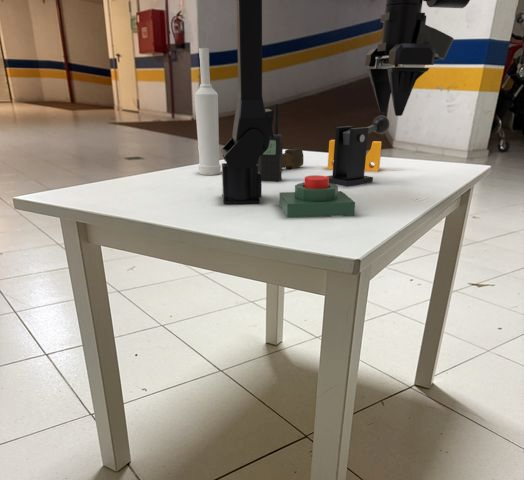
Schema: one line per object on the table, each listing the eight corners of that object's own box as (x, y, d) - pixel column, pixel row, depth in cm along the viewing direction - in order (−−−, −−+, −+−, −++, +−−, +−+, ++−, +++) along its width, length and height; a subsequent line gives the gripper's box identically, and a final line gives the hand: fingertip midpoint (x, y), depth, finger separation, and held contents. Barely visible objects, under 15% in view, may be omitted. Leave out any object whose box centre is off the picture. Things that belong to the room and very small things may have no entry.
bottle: (222, 171, 118) (218, 48, 106) (218, 175, 113) (213, 47, 101) (201, 171, 118) (194, 49, 106) (196, 175, 114) (188, 47, 102)
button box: (287, 217, 79) (287, 192, 77) (279, 205, 87) (279, 181, 85) (354, 216, 80) (356, 190, 78) (340, 203, 88) (342, 180, 86)
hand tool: (257, 177, 111) (257, 155, 109) (245, 174, 114) (244, 153, 112) (311, 168, 123) (312, 148, 121) (299, 166, 126) (299, 146, 123)
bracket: (348, 178, 110) (352, 125, 105) (372, 183, 105) (378, 127, 100) (322, 182, 106) (325, 127, 101) (346, 187, 101) (351, 129, 96)
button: (306, 191, 80) (307, 179, 79) (302, 186, 83) (302, 175, 82) (331, 190, 80) (331, 179, 79) (325, 185, 84) (326, 175, 83)
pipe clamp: (379, 169, 121) (382, 140, 118) (377, 171, 118) (380, 142, 114) (330, 166, 124) (332, 139, 121) (327, 169, 121) (329, 140, 117)
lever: (379, 130, 108) (379, 113, 106) (393, 132, 106) (392, 113, 103) (340, 147, 103) (339, 129, 101) (353, 149, 100) (352, 130, 98)
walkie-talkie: (258, 181, 106) (258, 103, 99) (262, 178, 109) (262, 103, 102) (280, 182, 105) (281, 104, 98) (283, 179, 108) (285, 103, 101)
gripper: (478, -1, 72) (456, 118, 79) (430, 14, 88) (416, 111, 96) (403, -3, 71) (388, 117, 78) (369, 12, 87) (360, 110, 95)
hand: (390, 114), depth 87 cm, fingers open, 9 cm apart
